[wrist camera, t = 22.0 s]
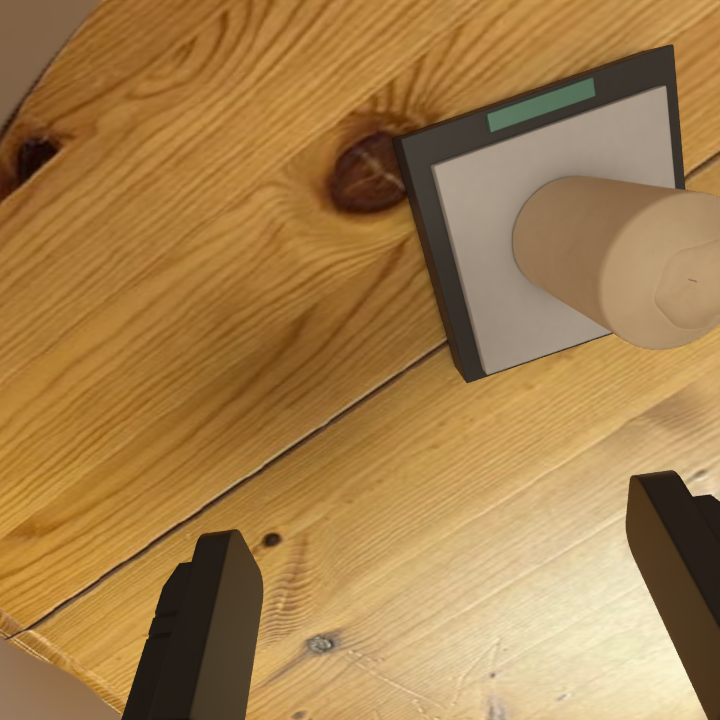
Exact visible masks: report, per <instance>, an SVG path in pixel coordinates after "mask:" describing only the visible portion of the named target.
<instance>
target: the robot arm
mask: <svg viewBox="0 0 720 720" xmlns="http://www.w3.org/2000/svg"><path fill="white" fill-rule="evenodd" d="M626 534H627V539H628V543H629V546H630V550H631V552H632V555H633V557H634V559H635V562H636V564H637V566H638V568H639V570H640V572H641V575H642V577H643V579H644V581H645V583H646V585H647V588H648V590H649V592H650V594H651V596H652V599H653V601H654V603H655V605H656V607H657V609H658V612H659V614H660V616H661V618H662V620H663V622H664V625H665V627H666V629H667V631H668V633H669V636H670V638H671V640H672V642H673V644H674V646H675V649H676V651H677V653H678V655H679V657H680V659H681V662H682V664H683V666H684V668H685V670H686V673H687V675H688V677H689V679H690V681H691V683H692V686H693V688H694V690H695V692H696V694H697V696H698V699H699V701H700V703H701V705H702V707H703V710H704V712H705V714H706V716H707V718H708V720H720V501H718V500H717V499H716V498H715V497H713V496H712V495H711V494H710V495H702V496H695V497H692V495H691V493H690V492H689V490H688V489H687V487H686V485H685V484H684V482H683V481H682V479H681V478H680V476H679V475H678V474H677V473H676V472H675V471H673V470H669V471H662V472H654V473H647V474H640V475H633V476H631V478H630V483H629V493H628V503H627V514H626ZM262 603H263V580H262V575H261V572H260V569H259V567H258V565H257V563H256V561H255V559H254V557H253V555H252V554H251V552H250V550H249V548H248V546H247V544H246V542H245V540H244V538H243V536H242V534H241V533H240V531H239V530H237V529H234V530H227V531H219V532H212V533H205V534H202V535H201V536H200V537H199V539H198V541H197V544H196V547H195V551H194V554H193V558H192V562H187V563H179V565H178V566H177V567H176V569H175V570H174V572H173V573H172V575H171V576H170V578H169V579H168V580H167V582H166V583H165V585H164V586H163V589H162V592H161V595H160V598H159V601H158V604H157V608H156V611H155V618H153V620H152V624H151V627H150V630H149V633H148V634H149V638H148V639H147V640H146V643H145V646H144V649H143V652H142V656H141V659H140V662H139V665H138V668H137V672H136V675H135V678H134V681H133V684H132V687H131V691H130V694H129V697H128V700H127V703H126V707H125V710H124V713H123V716H122V719H121V720H245V716H246V709H247V702H248V696H249V689H250V682H251V676H252V669H253V663H254V656H255V649H256V643H257V636H258V629H259V623H260V616H261V609H262Z"/></svg>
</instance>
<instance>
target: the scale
mask: <svg viewBox="0 0 720 720" xmlns="http://www.w3.org/2000/svg"><path fill="white" fill-rule="evenodd" d="M392 140H393V144H394V148H395V151H396V155H397V158H398V162H399V166H400V169H401V173H402V176H403V180H404V184H405V187H406V191H407V195H408V198H409V202H410V205H411V209H412V213H413V216H414V220H415V223H416V227H417V231H418V234H419V238H420V242H421V245H422V249H423V252H424V256H425V260H426V263H427V267H428V270H429V274H430V278H431V281H432V285H433V288H434V292H435V296H436V299H437V303H438V307H439V310H440V314H441V317H442V321H443V325H444V328H445V332H446V335H447V339H448V343H449V346H450V350H451V354H452V357H453V361H454V364H455V367H456V368H457V370H458V371H459V373H460V374H461V376H462V377H463V378H464V380H465V381H466V383H469V382H472V381H475V380H478V379H481V378H484V377H487V376H490V375H493V374H496V373H499V372H502V371H505V370H508V369H510V368H513V367H516V366H519V365H522V364H525V363H528V362H531V361H534V360H537V359H540V358H543V357H546V356H549V355H551V354H554V353H557V352H560V351H563V350H566V349H569V348H572V347H575V346H578V345H581V344H584V343H587V342H590V341H592V340H595V339H598V338H601V337H604V336H607V335H610V334H613V333H612V332H610V331H609V330H607V329H606V328H604V327H602V326H601V325H599V324H597V323H596V322H594V321H593V320H591V319H589V318H588V317H586V316H584V315H583V314H581V313H580V312H578V311H576V310H575V309H573V308H572V307H570V306H568V305H567V304H565V303H563V302H562V301H560V300H559V299H557V298H555V297H554V296H552V295H550V294H549V293H547V292H546V291H544V290H542V289H541V288H540V287H538V286H537V285H535V284H534V283H532V282H531V281H530V280H529V279H528V278H527V277H526V276H525V275H524V273H523V272H522V271H521V269H520V268H519V266H518V264H517V262H516V259H515V256H514V251H513V232H514V227H515V224H516V221H517V218H518V216H519V214H520V212H521V210H522V208H523V207H524V205H525V204H526V202H527V201H528V200H529V199H530V198H531V196H532V195H533V194H535V193H536V192H537V191H538V190H539V189H541V188H542V187H543V186H545V185H547V184H549V183H550V182H552V181H555V180H558V179H561V178H565V177H570V176H588V177H597V178H604V179H611V180H618V181H625V182H632V183H639V184H646V185H653V186H660V187H667V188H674V189H682V190H685V180H684V167H683V155H682V143H681V131H680V119H679V107H678V95H677V83H676V71H675V59H674V47H673V45H672V44H671V45H667V46H663V47H658V48H654V49H650V50H646V51H642V52H639V53H636V54H633V55H630V56H628V57H625V58H622V59H619V60H616V61H613V62H610V63H608V64H605V65H602V66H599V67H596V68H593V69H590V70H587V71H585V72H582V73H579V74H576V75H573V76H570V77H567V78H565V79H562V80H559V81H556V82H553V83H550V84H547V85H544V86H542V87H539V88H536V89H533V90H530V91H527V92H524V93H522V94H519V95H516V96H513V97H510V98H507V99H504V100H502V101H499V102H496V103H493V104H490V105H487V106H484V107H481V108H479V109H476V110H473V111H470V112H467V113H464V114H461V115H459V116H456V117H453V118H450V119H447V120H444V121H441V122H438V123H436V124H433V125H430V126H427V127H424V128H421V129H418V130H416V131H413V132H410V133H407V134H404V135H401V136H398V137H396V138H393V139H392Z"/></svg>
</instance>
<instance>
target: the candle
mask: <svg viewBox="0 0 720 720" xmlns="http://www.w3.org/2000/svg"><path fill="white" fill-rule="evenodd" d="M513 251H514V256H515V259H516V262H517V264H518V266H519V268H520V269H521V271H522V272H523V273H524V275H525V276H526V277H527V278H528V279H529V280H530V281H531V282H532V283H534V284H535V285H537V286H538V287H540V288H541V289H542V290H544V291H546V292H547V293H549V294H550V295H552V296H554V297H555V298H557V299H559V300H560V301H562V302H563V303H565V304H567V305H568V306H570V307H572V308H573V309H575V310H576V311H578V312H580V313H581V314H583V315H584V316H586V317H588V318H589V319H591V320H593V321H594V322H596V323H597V324H599V325H601V326H602V327H604V328H606V329H607V330H609V331H610V332H612V333H614V334H615V335H617V336H619V337H620V338H622V339H623V340H625V341H627V342H629V343H631V344H633V345H635V346H638V347H641V348H645V349H651V350H665V349H672V348H677V347H681V346H684V345H686V344H689V343H691V342H693V341H695V340H697V339H699V338H701V337H703V336H704V335H706V334H707V333H709V332H710V331H711V330H713V329H714V328H715V327H717V326H718V325H719V324H720V197H718V196H716V195H712V194H708V193H702V192H696V191H689V190H682V189H674V188H667V187H660V186H653V185H646V184H639V183H632V182H625V181H618V180H611V179H604V178H597V177H588V176H570V177H565V178H561V179H558V180H555V181H552V182H550V183H549V184H547V185H545V186H543V187H542V188H541V189H539V190H538V191H537V192H536V193H535V194H533V195H532V196H531V198H530V199H529V200H528V201H527V202H526V204H525V205H524V207H523V208H522V210H521V212H520V214H519V216H518V218H517V221H516V224H515V227H514V232H513Z"/></svg>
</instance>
